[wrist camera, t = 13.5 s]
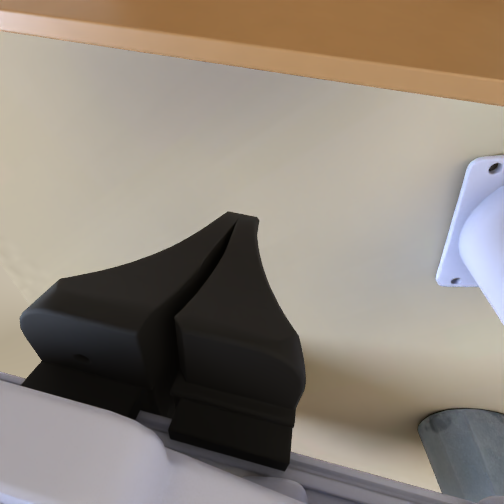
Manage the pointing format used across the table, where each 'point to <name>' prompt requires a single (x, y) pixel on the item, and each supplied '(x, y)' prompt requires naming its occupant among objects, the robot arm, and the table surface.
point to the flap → (298, 37)
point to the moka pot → (466, 452)
